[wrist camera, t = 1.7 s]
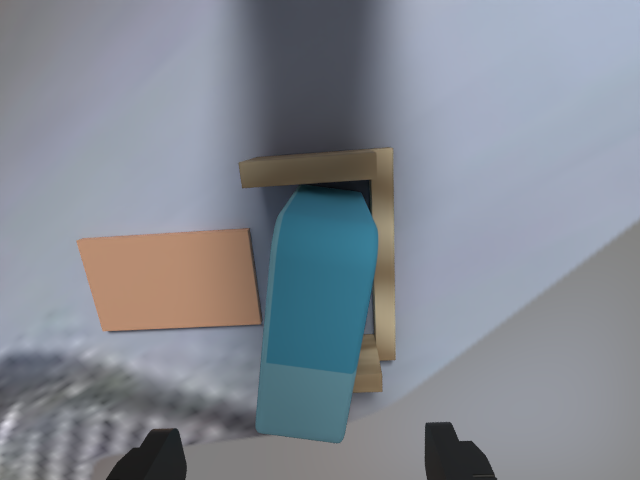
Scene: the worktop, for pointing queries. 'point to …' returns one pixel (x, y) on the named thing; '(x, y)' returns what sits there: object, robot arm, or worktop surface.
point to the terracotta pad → (173, 279)
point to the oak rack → (380, 175)
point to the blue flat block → (315, 313)
